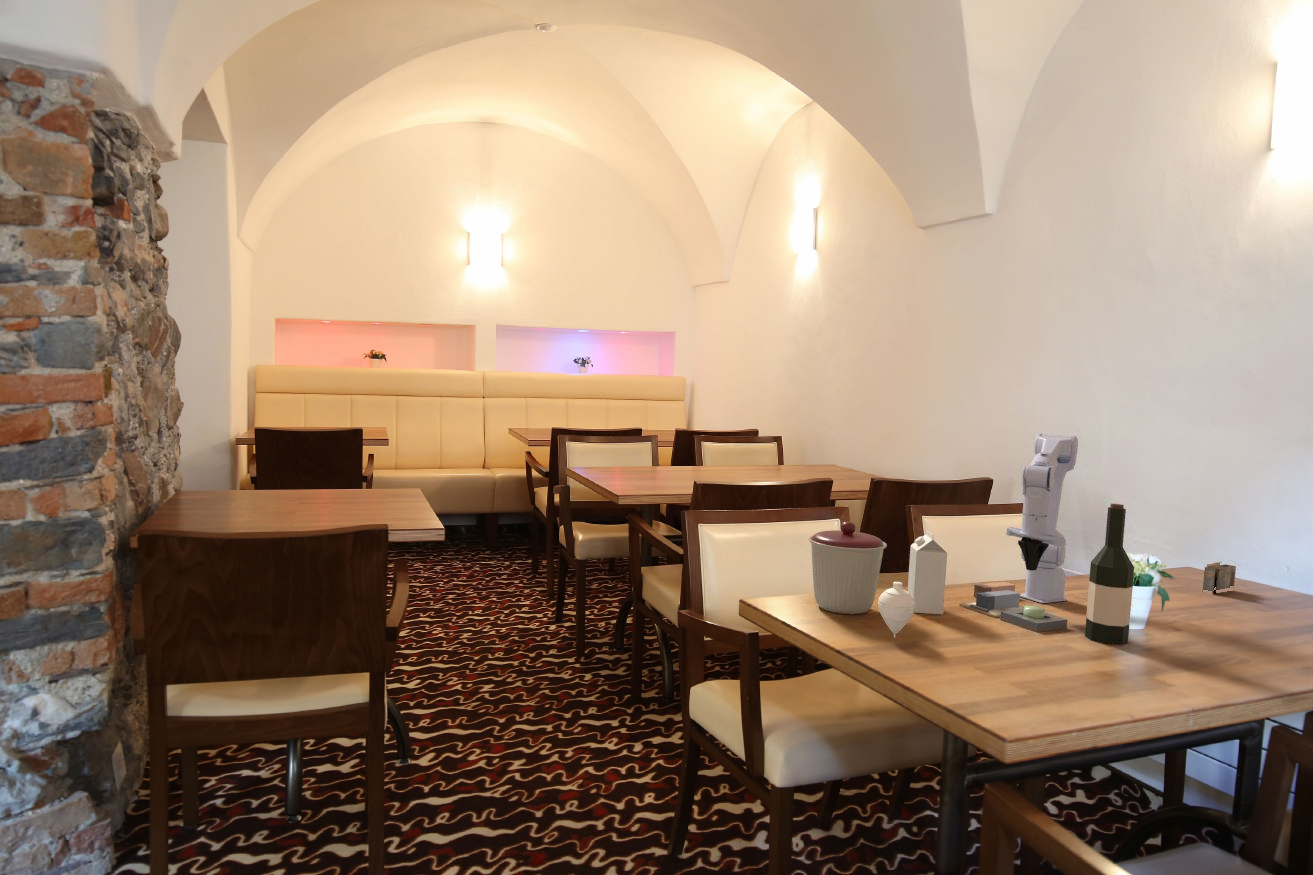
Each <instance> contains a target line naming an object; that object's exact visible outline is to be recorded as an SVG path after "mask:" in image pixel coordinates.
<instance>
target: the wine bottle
mask: <svg viewBox="0 0 1313 875" xmlns="http://www.w3.org/2000/svg"><path fill="white" fill-rule="evenodd" d="M1124 506H1125V505H1124V504H1123V503H1122V504H1120V503H1110V506H1107V514H1106V516H1107V518H1106V526H1105V528H1106V529H1105V541H1104V546H1103V547H1102V548H1101V549H1100V550H1099V552H1097V554H1096V556H1094V558H1093V559H1092V560H1091V561H1090V566H1089V567H1090V569H1089V579H1088V590H1087V591H1088V592H1087V593H1088V594H1087V604H1086V605H1087V606H1086V615H1085V616H1086V618H1085V631H1084V637H1085V638H1087V639H1088V640H1090V641H1091V642H1096V643H1098V644H1099V643H1100V644H1104V645H1109V646H1110V645H1111V646H1124V645H1126V644H1128V643H1129V634H1130V633H1129V632H1130V623H1131V621H1130V620H1131V610H1132V602H1133V601H1132V598H1133V587H1134V577H1135V576H1134V575H1135V565H1134V564H1133V563H1132V561H1131V559H1130V557H1129V556H1128V554H1127V551H1126V550H1125V548H1124V535H1125V525H1126V511H1127V509H1126V508H1125V507H1124Z"/></svg>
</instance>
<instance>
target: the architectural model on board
mask: <svg viewBox="0 0 1313 875" xmlns="http://www.w3.org/2000/svg"><path fill="white" fill-rule="evenodd" d="M1236 570H1237V565H1231V564H1226V563H1225V564H1222V561H1219V562H1218V561H1217V562H1213V563H1208V564H1206V566H1204V573H1203V583H1202V584H1203V585H1202V591H1203V590H1208V591H1212V592H1213V593H1214V591H1213V590H1214V588H1215V587H1216V590H1220V589H1225V588H1230V586H1234V587H1235V581H1236V573H1237V572H1236Z"/></svg>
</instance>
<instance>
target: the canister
mask: <svg viewBox="0 0 1313 875" xmlns="http://www.w3.org/2000/svg"><path fill="white" fill-rule="evenodd" d="M856 528H857V527H856V525H855V523H854V522H852V521H844V522H842V523H841V524H840V530H823V531H822V530H821V531H819V532H816V533H814V535H811V536H809V537H808V541H809V543H811V544H810V545H811V564H812V565H811V566H812V582H813V593H814V598H815V601H816V603H817V605H818V607H819V608H821V609H822V610H826V611H828V612H831V613H836V614H844V615H859V614H860V615H861V614H865V613H867V612H869V610H871V609H872V606H873V604H874V602H875V598H876V597H875V596H876V592H877V588H878V587H877V586H878V582H879V577H880V572H881V571H880V570H881V565H882V560H883V554H884V549H886V548H887V546H888V545H887V543H886V542H885V541H882V540H881V538H879V537H877V536H875V535H872V534H869V533H865V532H861V531H856Z"/></svg>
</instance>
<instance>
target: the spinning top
mask: <svg viewBox="0 0 1313 875" xmlns="http://www.w3.org/2000/svg"><path fill="white" fill-rule="evenodd" d="M892 585H893V586H892V587H890V588H888V589H886V590H884V591H883V592H882V593H881V594H880V596H879V597H878V600H877V607H878V610H879V613H880V615H881V617H882V619H883V621H884V622H885V624H886V626H887V627H888V629H889V630H890V631H891V633H893V639H896V635H897V634H898V633H899V632H901V630H902V629H903V628H904V627H905V626H906V625H907V623H908V622H910V620H911V618H912V617H913V615H914V614H915V612H914V611H915V601H914V599H913V597H912V596H911V595H910V593H909V592H908V590H905V589H903V582H901V581H893V582H892Z"/></svg>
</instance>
